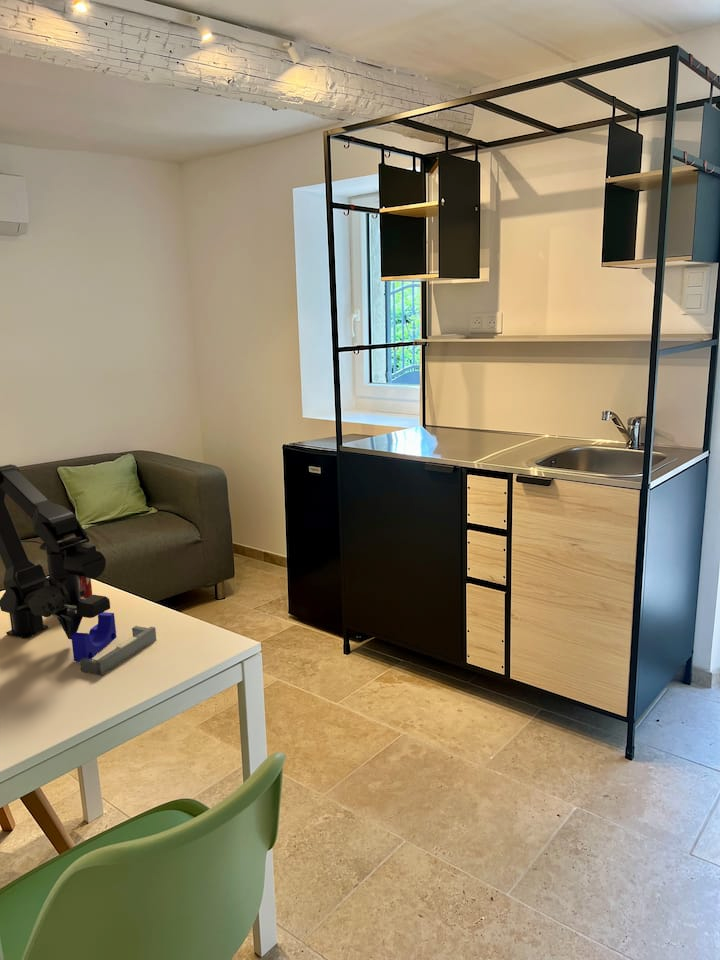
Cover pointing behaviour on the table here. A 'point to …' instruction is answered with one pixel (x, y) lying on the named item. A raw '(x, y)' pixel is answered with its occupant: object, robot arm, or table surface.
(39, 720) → the table surface
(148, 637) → the stop bracket
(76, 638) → the cable clip
